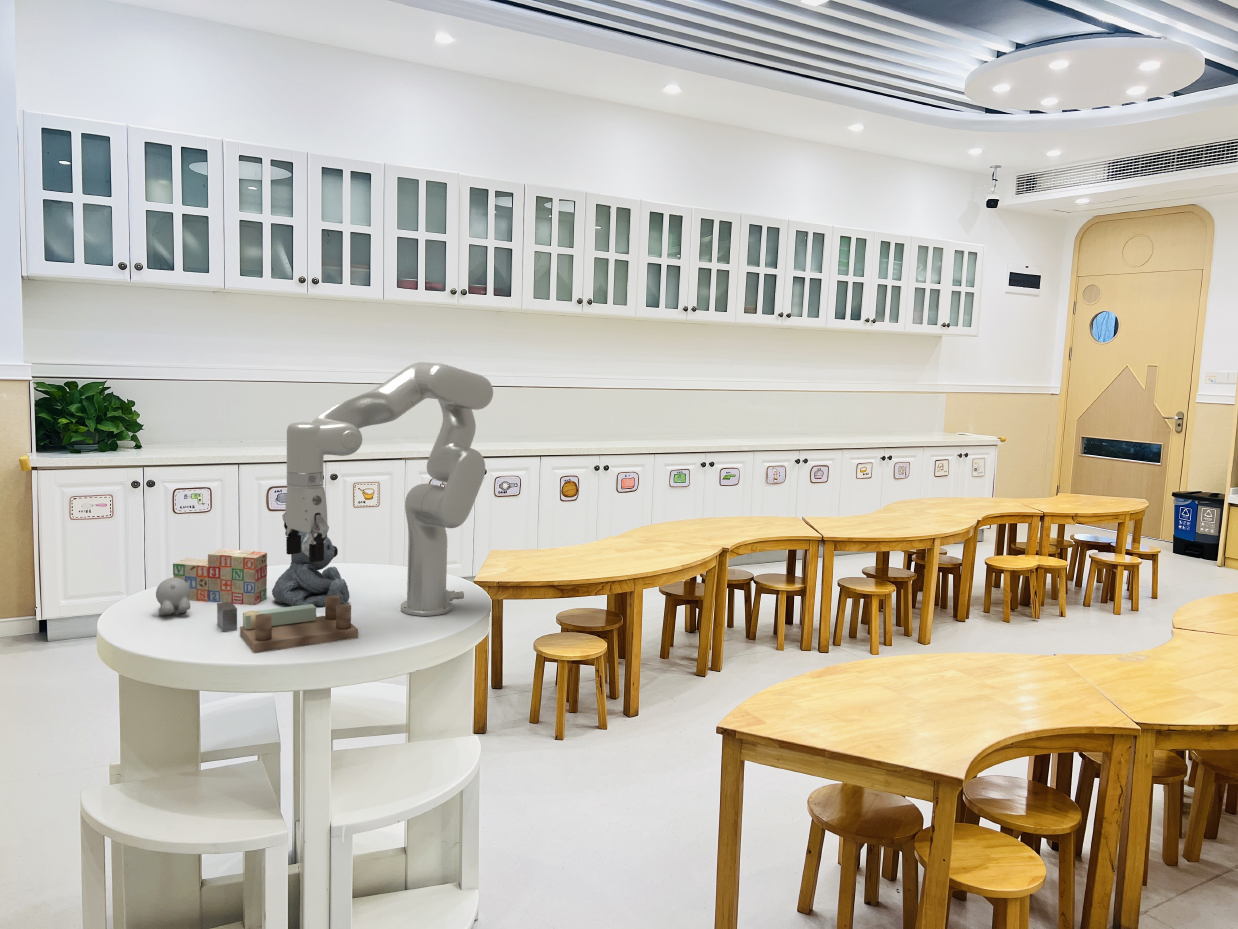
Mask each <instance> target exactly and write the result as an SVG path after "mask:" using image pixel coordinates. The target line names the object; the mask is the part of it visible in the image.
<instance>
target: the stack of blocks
mask: <svg viewBox="0 0 1238 929" xmlns="http://www.w3.org/2000/svg"><path fill="white" fill-rule="evenodd" d="M172 576H173V577H172V578H180V579H182V580H184V581H185V582H186V583H187V584H188V585H189V588H190V597H189V599H188V601H194V602H206V603H224V602H232V603H233V604H234V605H245V606H256V605H258V604H260V603H261V602H264V601H265V600H267V598H268V597H267V596H268V595H267V594H268V592H267V585H268V584H267V583H268V582H267V581H268V579H267V578H268V553H267V552H262V551H255V550H248V549H247V550H246V549H243V550H241V549H229V548H228V549H226V548H219V549H217V550H215V551H213V552H210V553H208V554H207V559H205V558H192V557H191V558H190V557H185V558H183V559H180V560H179V561H176V562H174V563H172Z"/></svg>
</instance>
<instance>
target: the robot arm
mask: <svg viewBox="0 0 1238 929" xmlns="http://www.w3.org/2000/svg"><path fill="white" fill-rule="evenodd" d="M493 396H494V388H493V385H492V383H491V381H489V379H488V378H486V377H485V376H484V375H481V374H478V373H474V372H471V371H468V370H465V369H462V368H458V367H454V366H452V365H448V364H444V363H441V362H440V363H438V362H437V363H436V362H425V361H421V362H415V363H411V364H410V365H408V366H407V367H405V368H404V369H402V370H401V371H399V372H398V373H396V374H395V375H393V376H392V377H390V378H388V379H387V380H386V381H384V382H383V383H382V384H379V385H378V386H377V387H375V388H374V389H372V390H369V391H367V392H364V393H361V394H359V395H357V396H355V397H352V398H349V399H347V400H344V401H342V402H340V403H338V404H336V405H334V406H332V407H331V408H329V409H327V410H325V412H323V413H322V414H320V415H318V416H317V417H315V419H314V420H312V421H311V422H305V421H302V422H292V423H290V424H288V426H287V427H286V428H287V429H286V487H287V488H286V496H285V509H284V510H285V512H284V513H283V514H282V515H281V516H282V521H283V527H284V530H285V536H286V537H285V538H286V545H285V546H286V555H290V556H291V554H297V553H300V552H301V535H299V533H300V532H303V533H307V534H308V536H309V538H310V541H311V544H309V562H318V561H323V560H324V543H325V539H326V537H328V532H329V529H330V526H329V525H328V524H329V523H328V506H327V497H326V491H325V486H324V461H325V460H324V457H325V455H326V456H337V457H338V456H339V457H347V456H351V455H354V454H355V453H356V452H357V451H358V450H360V448H361V446H362V444H363V434H362V432H361V430H360V429H362V428H366V427H369V426H374V425H375V426H376V425H382V424H383V425H384V424H387V423H389V422H393V421H395V420H397V419H399V418H400V417H402V416H403V415H404V414H406V413H407V412H408V411H410V410H411V409H412V408H414V407H416V406H417V405H418V404H420V403H421V402H423V401H424V400H426V399H434V400H437V401H438V403H439V407H440V409H441V413H442V423H441V426H440V430H439V433H438V434H437V437H436V440H435V442H434V444H433V447H432V449H431V452H430V454H429V457H428V459H427V462H426V472H427V474H428V476H430V477H431V478H432V479H434V480H435V481H439V482H442V483H446V484H445V486H441V485H437V484H431V483H420V484H417V485H415V486H413V487H412V488H411V489H409V491H408V493H407V494H406V497H405V500H404V511H405V516H406V522H407V533H408V534H407V536H408V537H407V538H408V539H407V540H408V542H407V543H408V544H407V546H408V547H407V582H406V584H407V587H406V588H407V589H406V590H407V591H406V592H407V593H406V600H405V601H403V602H401V603H400V611H401V612H402V613H405V614H408V615H411V616H421V617H424V616H425V617H427V616H429V617H430V616H438V615H444V614H446V613H449V612H451V611H452V609H453V603H452V602H453V601H455V600H463V599H465V593H464V591H456V590H448V589H447V572H448V571H447V570H448V569H447V567H448V566H447V565H448V563H447V562H448V534H447V530H446V528H447V529H455V528H456V529H457V528H458V527H460V526H462V525H463V524H464V523H465V521H466V520H467V519H468V518H469V515H470V514H471V511H472V509H473V506H474V504H475V500H476V498H477V497H478V494H479V492H480V489H481V486H482V484H483V482H484V481H483V480H484V479H485V478H484V477H485V475H486V474H485V473H486V463H485V459H484V456H483V454H482V453H481V452H480V451H478V450H477V449H475V448H471V447H472V444H473V440H474V437H475V436H476V435H475V434H476V430H477V429H476V427H477V426H476V425H477V424H476V420H475V416H474V412H473V410H474V411H475V410H476V411H477V410H482V409H484V408H487V406H489V404H490V403H491V402H492V400H493ZM311 529H314V530H311ZM314 534H317V535H316V537H314Z"/></svg>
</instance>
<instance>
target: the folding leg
mask: <svg viewBox="0 0 1238 929" xmlns="http://www.w3.org/2000/svg"><path fill="white" fill-rule="evenodd" d="M258 614H271V615H272V626H276V625H284V624H291V623H299V622H307V621H314V620H316V617H317V606H314V605H313V604H309V605H301V606H286V607H277V608H270V609H269V608H268V609H260V610H259V609H258V610H247V611H244V612H242V626H244V628H245V629H255V616H256V615H258Z"/></svg>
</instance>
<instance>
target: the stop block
mask: <svg viewBox="0 0 1238 929" xmlns="http://www.w3.org/2000/svg"><path fill="white" fill-rule="evenodd" d="M216 603H217V604H216V608H217V609H216V614H217V615H216V620H217V621H216V625H217V626H218V627H219V629H220V630H221V632H222V633H226V632H233V631H238V608H237V607H236V605H235V604H233V603H232V602H224V603H220V602H216Z"/></svg>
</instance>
